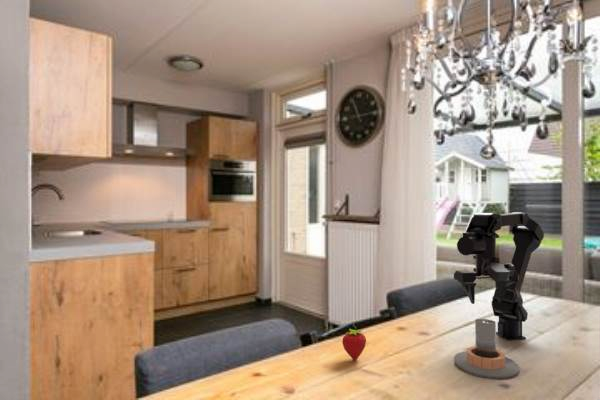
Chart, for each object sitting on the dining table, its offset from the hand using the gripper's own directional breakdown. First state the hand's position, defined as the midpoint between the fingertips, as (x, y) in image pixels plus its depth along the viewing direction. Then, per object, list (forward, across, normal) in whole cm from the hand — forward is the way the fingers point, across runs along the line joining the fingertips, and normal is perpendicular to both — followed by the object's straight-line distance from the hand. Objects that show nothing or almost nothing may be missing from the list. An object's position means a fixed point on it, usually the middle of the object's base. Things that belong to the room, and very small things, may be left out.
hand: (486, 303), depth 122 cm
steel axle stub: (+12, -10, -14) cm, 21 cm away
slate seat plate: (+13, -10, -14) cm, 22 cm away
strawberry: (+13, -44, -4) cm, 46 cm away
